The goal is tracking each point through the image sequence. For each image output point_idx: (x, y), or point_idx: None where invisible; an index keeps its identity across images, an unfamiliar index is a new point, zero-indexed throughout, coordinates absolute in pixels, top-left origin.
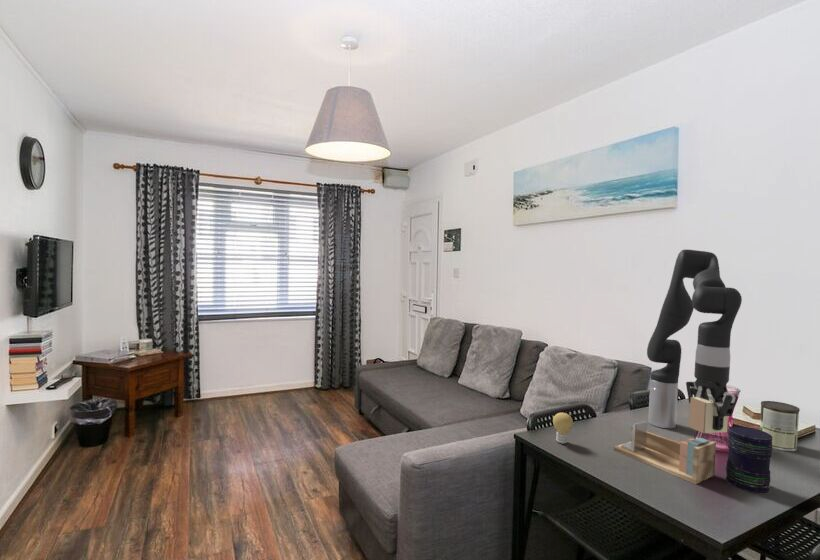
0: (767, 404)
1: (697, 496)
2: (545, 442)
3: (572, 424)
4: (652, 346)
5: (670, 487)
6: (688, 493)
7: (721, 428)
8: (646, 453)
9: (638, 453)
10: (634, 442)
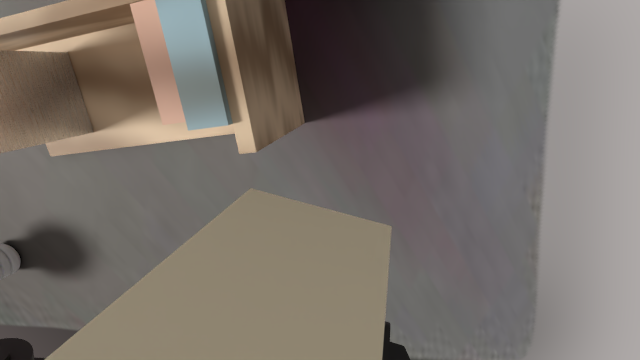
0: None
1: (360, 197)
2: (13, 295)
3: None
4: None
5: None
6: (337, 205)
7: (403, 356)
8: (103, 91)
9: (100, 120)
10: (61, 138)
